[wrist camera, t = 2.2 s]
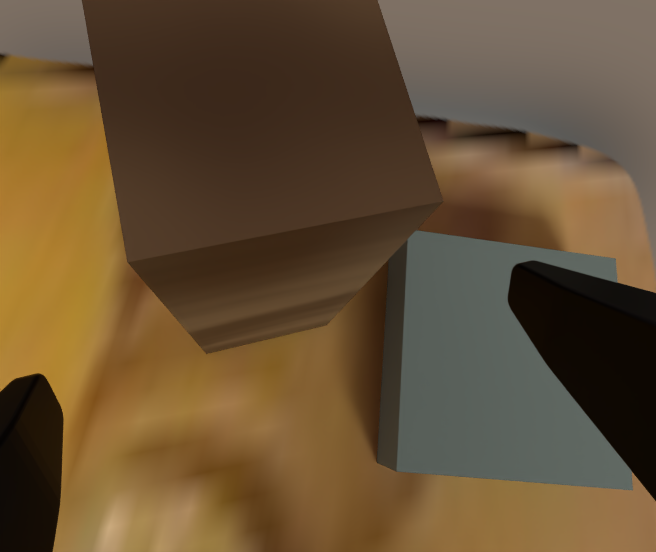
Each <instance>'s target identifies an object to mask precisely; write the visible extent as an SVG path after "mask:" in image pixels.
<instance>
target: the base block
mask: <svg viewBox="0 0 656 552" xmlns="http://www.w3.org/2000/svg"><path fill="white" fill-rule="evenodd" d="M531 260H535V261H539V262H543V263H547V264H550V265H554V266H558V267H561V268H565V269H569V270H572V271H576V272H580V273H583V274H587V275H591V276H595V277H598V278H602V279H606V280H609V281H613V282H617V270H616V259H615V258H608V257H601V256H594V255H587V254H580V253H572V252H565V251H558V250H551V249H544V248H537V247H530V246H523V245H516V244H509V243H502V242H495V241H488V240H481V239H474V238H467V237H460V236H453V235H446V234H439V233H432V232H425V231H418V230H416V231H415V232H414V233H413V234H412V235H411V236H410V237H409V238H408V239H407V240H406V241H405V242H404V243H403V245H402V246H401V247H400V248H399V249H398V250H397V251H396V252H395V253H394V254H393V255H392V256H391V257H390V258H389V264H388V281H387V298H386V315H385V332H384V349H383V366H382V384H381V401H380V418H379V435H378V452H377V463H379V464H381V465H383V466H386V467H388V468H390V469H392V470H395V471H397V472H410V473H422V474H435V475H447V476H460V477H473V478H485V479H498V480H510V481H523V482H535V483H548V484H561V485H573V486H586V487H598V488H611V489H623V490H633V486H632V472H631V470H630V468H629V467H628V466H627V465H626V463H625V462H624V461H623V460H622V458H621V457H620V456H619V455H618V453H617V452H616V451H615V450H614V448H613V447H612V446H611V445H610V443H609V442H608V441H607V440H606V438H605V437H604V436H603V435H602V434H601V432H600V431H599V430H598V429H597V427H596V426H595V425H594V424H593V422H592V421H591V420H590V419H589V417H588V416H587V415H586V414H585V412H584V411H583V410H582V409H581V407H580V406H579V405H578V404H577V402H576V401H575V400H574V399H573V397H572V396H571V395H570V394H569V392H568V391H567V390H566V389H565V387H564V386H563V385H562V384H561V382H560V381H559V380H558V379H557V377H556V376H555V375H554V374H553V372H552V371H551V370H550V368H549V367H548V366H547V364H546V363H545V361H544V360H543V359H542V357H541V356H540V354H539V353H538V351H537V349H536V348H535V346H534V345H533V343H532V342H531V340H530V339H529V337H528V335H527V334H526V332H525V331H524V329H523V328H522V326H521V325H520V323H519V321H518V320H517V318H516V317H515V315H514V314H513V312H512V311H511V309H510V307H509V304H508V291H509V284H510V278H511V271H512V268H513V267H514V265H516V264H518V263H522V262H526V261H531Z"/></svg>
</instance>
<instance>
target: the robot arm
mask: <svg viewBox="0 0 656 552" xmlns="http://www.w3.org/2000/svg"><path fill="white" fill-rule="evenodd" d="M508 304H509V307H510V309H511V311H512V312H513V314H514V315H515V317H516V318H517V320H518V321H519V323H520V325H521V326H522V328H523V329H524V331H525V332H526V334H527V335H528V337H529V339H530V340H531V342H532V343H533V345H534V346H535V348H536V349H537V351H538V353H539V354H540V356H541V357H542V359H543V360H544V361H545V363H546V364H547V366H548V367H549V368H550V370H551V371H552V372H553V374H554V375H555V376H556V377H557V379H558V380H559V381H560V382H561V384H562V385H563V386H564V387H565V389H566V390H567V391H568V392H569V394H570V395H571V396H572V397H573V399H574V400H575V401H576V402H577V404H578V405H579V406H580V407H581V409H582V410H583V411H584V412H585V414H586V415H587V416H588V417H589V419H590V420H591V421H592V422H593V424H594V425H595V426H596V427H597V429H598V430H599V431H600V432H601V434H602V435H603V436H604V437H605V438H606V440H607V441H608V442H609V443H610V445H611V446H612V447H613V448H614V450H615V451H616V452H617V453H618V455H619V456H620V457H621V458H622V460H623V461H624V462H625V463H626V465H627V466H628V467H629V468H630V470H631V471H632V472H633V473H634V475H635V476H636V477H637V478H638V480H639V481H640V482H641V483H642V485H643V486H644V487H645V488H646V490H647V491H648V492H649V493H650V495H651V496H652V497H653V498H654V500H655V501H656V293H654V292H650V291H646V290H642V289H639V288H635V287H631V286H628V285H624V284H620V283H617V282H613V281H609V280H606V279H602V278H598V277H595V276H591V275H587V274H583V273H580V272H576V271H572V270H569V269H565V268H561V267H558V266H554V265H550V264H547V263H543V262H539V261H535V260H531V261H526V262H522V263H518V264H516V265H514V267H513V268H512V271H511V278H510V284H509V291H508ZM62 448H63V412H62V409H61V406H60V404H59V402H58V400H57V398H56V396H55V394H54V392H53V390H52V388H51V386H50V384H49V382H48V381H47V379H46V377H45V376H44V375H42V374H39V373H38V374H33V375H28V376H24V377H20V378H16V379H14V380H13V381H11V382H10V383H9V384H8V385H7V386H6V387H5V388H4V389H3V390H2V391H1V392H0V552H53V546H54V540H55V534H56V528H57V522H58V515H59V507H60V497H61V476H62Z"/></svg>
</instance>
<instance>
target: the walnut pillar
mask: <svg viewBox="0 0 656 552" xmlns="http://www.w3.org/2000/svg"><path fill="white" fill-rule="evenodd" d="M82 3H83V9H84V15H85V20H86V26H87V32H88V37H89V43H90V49H91V55H92V60H93V66H94V72H95V78H96V84H97V89H98V95H99V101H100V107H101V113H102V118H103V124H104V130H105V136H106V141H107V147H108V153H109V159H110V164H111V170H112V176H113V182H114V187H115V193H116V199H117V205H118V210H119V216H120V222H121V228H122V233H123V239H124V245H125V251H126V256H127V262H128V263H129V264H130V266H131V267H132V268H133V269H134V270H135V271H136V273H137V274H138V275H139V276H140V277H141V278H142V280H143V281H144V282H145V283H146V284H147V285H148V287H149V288H150V289H151V290H152V291H153V292H154V293H155V295H156V296H157V297H158V298H159V299H160V300H161V302H162V303H163V304H164V305H165V306H166V307H167V309H168V310H169V311H170V312H171V313H172V314H173V316H174V317H175V318H176V319H177V320H178V321H179V322H180V324H181V325H182V326H183V327H184V328H185V329H186V331H187V332H188V333H189V334H190V335H191V336H192V338H193V339H194V340H195V341H196V342H197V343H198V345H199V346H200V347H201V348H202V349H203V350H204V352H205V353H206V354H207V353H212V352H216V351H220V350H224V349H228V348H233V347H237V346H241V345H245V344H249V343H254V342H258V341H262V340H266V339H270V338H275V337H279V336H283V335H287V334H291V333H296V332H300V331H304V330H308V329H312V328H317V327H321V326H325V325H327V324H328V323H329V322H330V321H331V320H332V319H333V318H334V317H335V316H336V315H337V313H338V312H339V311H340V310H341V309H342V308H343V307H344V306H345V305H346V304H347V303H348V302H349V301H350V300H351V299H352V298H353V297H354V295H355V294H356V293H357V292H358V291H359V290H360V289H361V288H362V287H363V286H364V285H365V284H366V283H367V282H368V281H369V280H370V278H371V277H372V276H373V275H374V274H375V273H376V272H377V271H378V270H379V269H380V268H381V267H382V266H383V265H384V264H385V263H386V262H387V260H388V259H389V258H390V257H391V256H392V255H393V254H394V253H395V252H396V251H397V250H398V249H399V248H400V247H401V246H402V245H403V243H404V242H405V241H406V240H407V239H408V238H409V237H410V236H411V235H412V234H413V233H414V232H415V231H416V230H417V229H418V228H419V227H420V225H421V224H422V223H423V222H424V221H425V220H426V219H427V218H428V217H429V216H430V215H431V214H432V213H433V212H434V211H435V210H436V208H437V207H438V206H439V205H440V204H441V203H442V202H443V198H442V195H441V192H440V189H439V186H438V183H437V180H436V177H435V174H434V171H433V168H432V165H431V162H430V159H429V156H428V153H427V150H426V147H425V144H424V140H423V137H422V134H421V131H420V128H419V125H418V122H417V119H416V116H415V113H414V110H413V107H412V104H411V101H410V98H409V95H408V92H407V89H406V86H405V83H404V80H403V77H402V74H401V71H400V67H399V65H398V61H397V58H396V55H395V52H394V49H393V46H392V43H391V40H390V37H389V34H388V31H387V28H386V25H385V22H384V19H383V16H382V13H381V10H380V7H379V4H378V1H377V0H82Z"/></svg>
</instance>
